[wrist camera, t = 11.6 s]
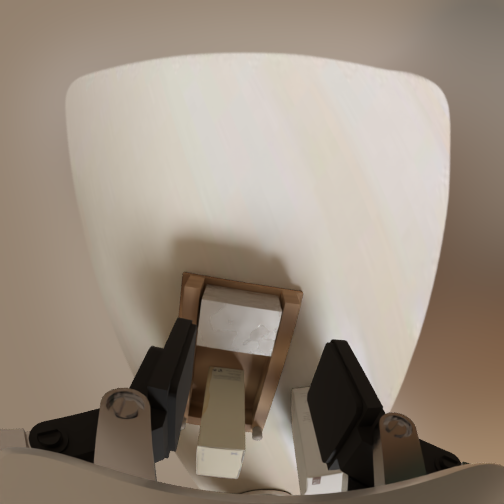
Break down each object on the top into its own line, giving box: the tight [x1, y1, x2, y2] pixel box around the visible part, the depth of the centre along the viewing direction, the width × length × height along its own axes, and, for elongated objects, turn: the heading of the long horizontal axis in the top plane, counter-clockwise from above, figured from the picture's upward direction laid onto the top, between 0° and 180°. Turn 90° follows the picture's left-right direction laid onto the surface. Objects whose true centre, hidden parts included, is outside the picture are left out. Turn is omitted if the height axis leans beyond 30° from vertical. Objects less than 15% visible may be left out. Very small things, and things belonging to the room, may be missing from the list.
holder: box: [179, 272, 303, 440], centre depth 30 cm, size 19×13×5 cm, turn 170°
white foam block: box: [197, 284, 282, 356], centre depth 28 cm, size 5×7×4 cm
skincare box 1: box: [196, 366, 245, 479], centre depth 27 cm, size 6×4×12 cm
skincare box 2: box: [291, 387, 343, 495], centre depth 28 cm, size 8×6×15 cm
